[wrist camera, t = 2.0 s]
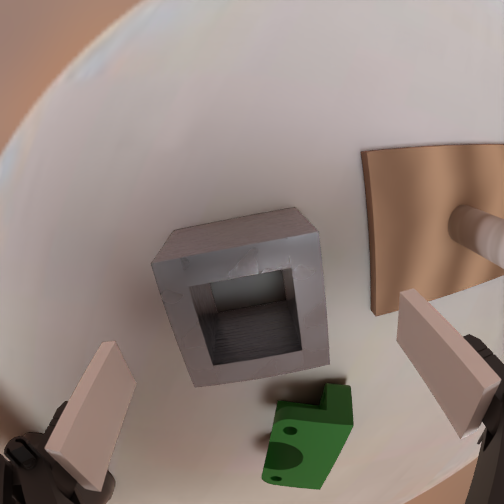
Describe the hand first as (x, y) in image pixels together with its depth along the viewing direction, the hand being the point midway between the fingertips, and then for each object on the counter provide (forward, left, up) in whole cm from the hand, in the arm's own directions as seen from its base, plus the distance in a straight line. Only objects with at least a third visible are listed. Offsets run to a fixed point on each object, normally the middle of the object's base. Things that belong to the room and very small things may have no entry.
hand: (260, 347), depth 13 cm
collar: (0, 0, -9) cm, 9 cm away
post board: (+17, +1, -9) cm, 19 cm away
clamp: (+2, -16, -9) cm, 19 cm away
